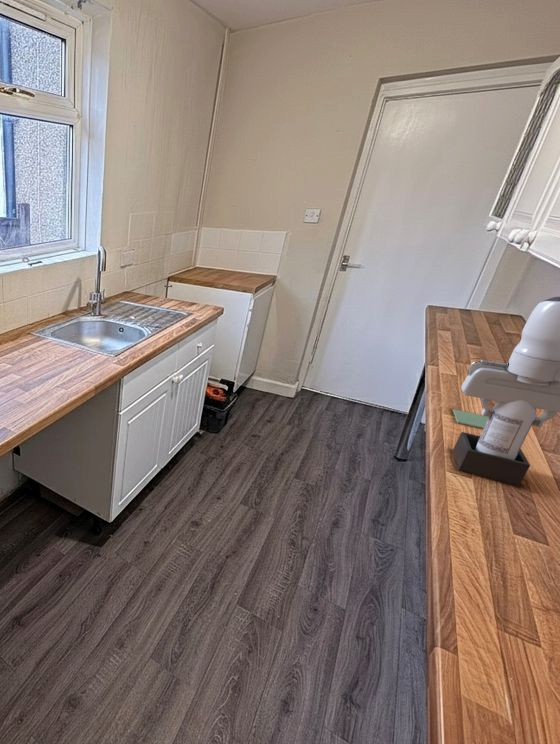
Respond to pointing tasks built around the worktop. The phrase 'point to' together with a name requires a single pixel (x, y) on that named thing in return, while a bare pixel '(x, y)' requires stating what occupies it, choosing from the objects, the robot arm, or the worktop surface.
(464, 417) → the mat
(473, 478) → the worktop surface
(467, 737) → the worktop surface
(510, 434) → the bath foam
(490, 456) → the holder
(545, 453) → the worktop surface
